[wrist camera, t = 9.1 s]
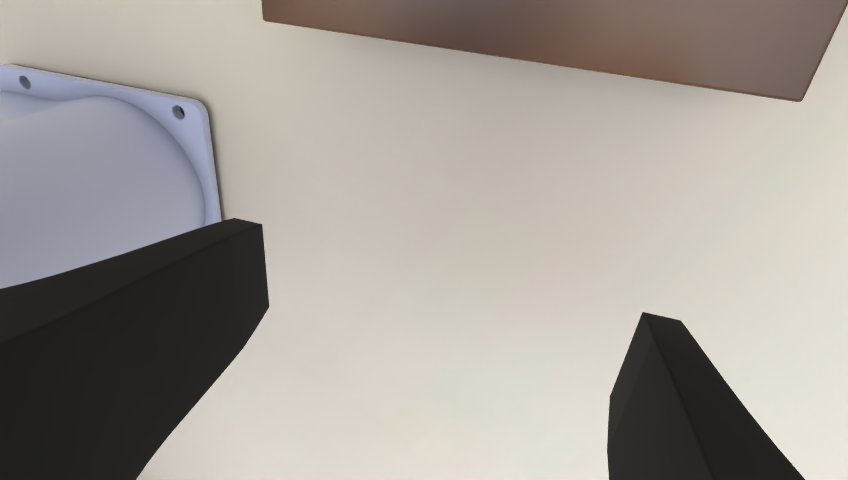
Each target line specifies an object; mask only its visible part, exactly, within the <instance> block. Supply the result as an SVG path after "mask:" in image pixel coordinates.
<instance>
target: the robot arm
mask: <svg viewBox="0 0 848 480" xmlns="http://www.w3.org/2000/svg"><path fill="white" fill-rule="evenodd" d="M179 107H181V108H182V109H183V110H184V113H185V116H184V115H183V114H182V113H181V111H180V109H179ZM268 308H269V299H268V287H267V275H266V264H265V252H264V241H263V229H262V224H258V223H254V222H250V221H245V220H241V219H236V218H233V219H229V220H224V221H222V219H221V212H220V204H219V196H218V188H217V180H216V172H215V165H214V157H213V149H212V141H211V133H210V125H209V118H208V112H207V109H206V108H205V106H204V105H203V104H202V103H201V102H200V101H198V100H196V99H192V98H187V97H182V96H176V95H171V94H166V93H160V92H155V91H150V90H144V89H139V88H134V87H129V86H123V85H118V84H113V83H107V82H102V81H97V80H92V79H86V78H81V77H76V76H70V75H65V74H60V73H54V72H49V71H44V70H39V69H33V68H28V67H23V66H17V65H12V64H4V65H0V480H136V479H137V477H138V476H139V474H140V473H141V472H142V470H143V469H144V467H145V466H146V464H147V463H148V462H149V460H150V459H151V457H152V456H153V455H154V454H155V452H156V451H157V450H158V449H159V447H160V446H161V445H162V443H163V442H164V441H165V440H166V438H167V437H168V436H169V435H170V434H171V432H172V431H173V430H174V429H175V428H176V427H177V425H178V424H179V423H180V422H181V421H182V420H183V418H184V417H185V416H186V415H187V414H188V413H189V411H190V410H191V409H192V408H193V407H194V406H195V404H196V403H197V402H198V401H199V400H200V398H201V397H202V396H203V395H204V394H205V393H206V391H207V390H208V389H209V388H210V387H211V386H212V384H213V383H214V382H215V381H216V380H217V379H218V377H219V376H220V375H221V374H222V373H223V372H224V370H225V369H226V368H227V367H228V366H229V364H230V363H231V362H232V361H233V360H234V358H235V357H236V356H237V355H238V354H239V352H240V351H241V350H242V349H243V347H244V346H245V344H246V343H247V341H248V340H249V338H250V337H251V335H252V334H253V332H254V331H255V329H256V328H257V326H258V324H259V323H260V321H261V319H262V318H263V316H264V314H265V313H266V311H267V310H268ZM607 454H608V469H609V480H805V479H804V478H803V477H802V475H801V474H800V473H799V472H798V471H797V470H796V468H795V467H794V466H793V465H792V464H791V463H790V462H789V460H788V459H787V458H786V457H785V456H784V455H783V453H782V452H781V451H780V450H779V449H778V448H777V446H776V445H775V444H774V443H773V441H772V440H771V439H770V438H769V437H768V435H767V434H766V433H765V432H764V430H763V429H762V428H761V427H760V426H759V424H758V423H757V422H756V420H755V419H754V418H753V417H752V415H751V414H750V413H749V412H748V410H747V409H746V408H745V406H744V405H743V404H742V403H741V401H740V400H739V399H738V397H737V396H736V395H735V393H734V392H733V391H732V389H731V388H730V387H729V385H728V384H727V383H726V381H725V380H724V379H723V377H722V376H721V375H720V373H719V372H718V371H717V369H716V368H715V366H714V365H713V364H712V362H711V361H710V360H709V358H708V357H707V356H706V354H705V353H704V351H703V350H702V349H701V347H700V346H699V344H698V343H697V342H696V340H695V339H694V338H693V336H692V335H691V334H690V332H689V331H688V329H687V328H686V327H685V326H684V324H683V323H682V322H681V321H680V320H676V319H671V318H667V317H663V316H658V315H654V314H649V313H645V312H643V313H642V315H641V318H640V320H639V323H638V326H637V328H636V331H635V333H634V336H633V338H632V341H631V344H630V346H629V349H628V351H627V354H626V357H625V359H624V362H623V364H622V367H621V369H620V372H619V375H618V377H617V380H616V382H615V385H614V388H613V390H612V393H611V395H610V406H609V422H608V444H607Z"/></svg>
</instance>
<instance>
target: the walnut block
mask: <svg viewBox="0 0 848 480" xmlns="http://www.w3.org/2000/svg"><path fill="white" fill-rule="evenodd" d="M847 5H848V0H262V13H263V20H265V21H267V22H274V23H281V24H287V25H294V26H300V27H307V28H314V29H320V30H327V31H333V32H340V33H347V34H353V35H360V36H366V37H373V38H379V39H386V40H393V41H399V42H406V43H412V44H419V45H426V46H432V47H439V48H445V49H452V50H459V51H465V52H472V53H478V54H485V55H492V56H498V57H505V58H511V59H518V60H524V61H531V62H538V63H544V64H551V65H557V66H564V67H571V68H577V69H584V70H590V71H597V72H604V73H610V74H617V75H623V76H630V77H637V78H643V79H650V80H656V81H663V82H669V83H676V84H683V85H689V86H696V87H702V88H709V89H716V90H722V91H729V92H735V93H742V94H749V95H755V96H762V97H768V98H775V99H782V100H788V101H795V102H800V101H802V100H803V98H804V96H805V94H806V92H807V90H808V88H809V85H810V83H811V81H812V79H813V77H814V75H815V73H816V71H817V68H818V66H819V64H820V62H821V60H822V58H823V56H824V54H825V51H826V49H827V47H828V45H829V43H830V41H831V39H832V37H833V34H834V32H835V30H836V28H837V26H838V24H839V22H840V20H841V17H842V15H843V13H844V11H845V9H846V7H847Z"/></svg>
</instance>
